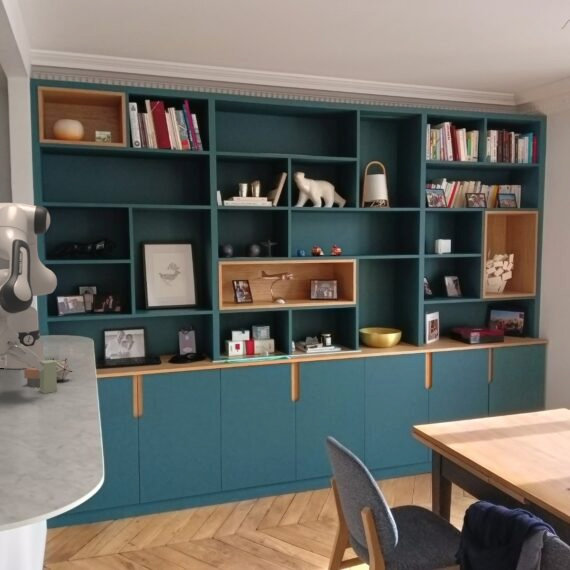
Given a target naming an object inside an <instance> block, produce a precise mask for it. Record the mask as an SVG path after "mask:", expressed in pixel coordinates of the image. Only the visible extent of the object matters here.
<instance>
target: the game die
mask: <svg viewBox="0 0 570 570" xmlns="http://www.w3.org/2000/svg"><path fill="white" fill-rule="evenodd" d="M51 360H53V361H56V375H57V381H61V382H62V383H64V379H65V378H66V377H67V375H68V374H69V373H72V372H73V370H70V368H69V365H68V363H67V361H68V358H65V359H64V360H63V359H59V360H58V359H55V358H52V359H51Z"/></svg>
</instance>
